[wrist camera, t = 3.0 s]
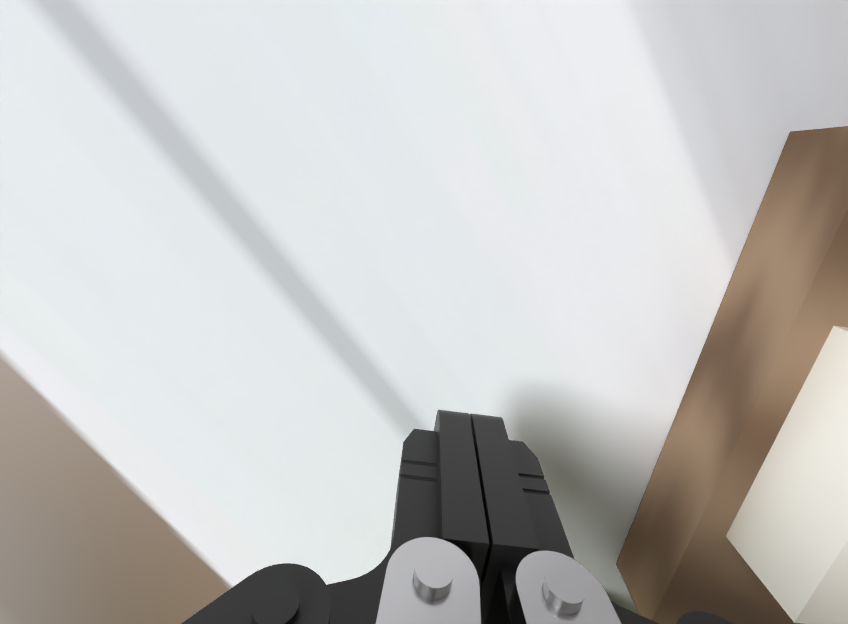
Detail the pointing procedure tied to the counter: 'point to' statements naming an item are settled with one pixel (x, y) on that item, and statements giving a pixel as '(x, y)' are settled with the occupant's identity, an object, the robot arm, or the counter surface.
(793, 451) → the tile
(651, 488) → the brown square board
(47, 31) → the counter surface
